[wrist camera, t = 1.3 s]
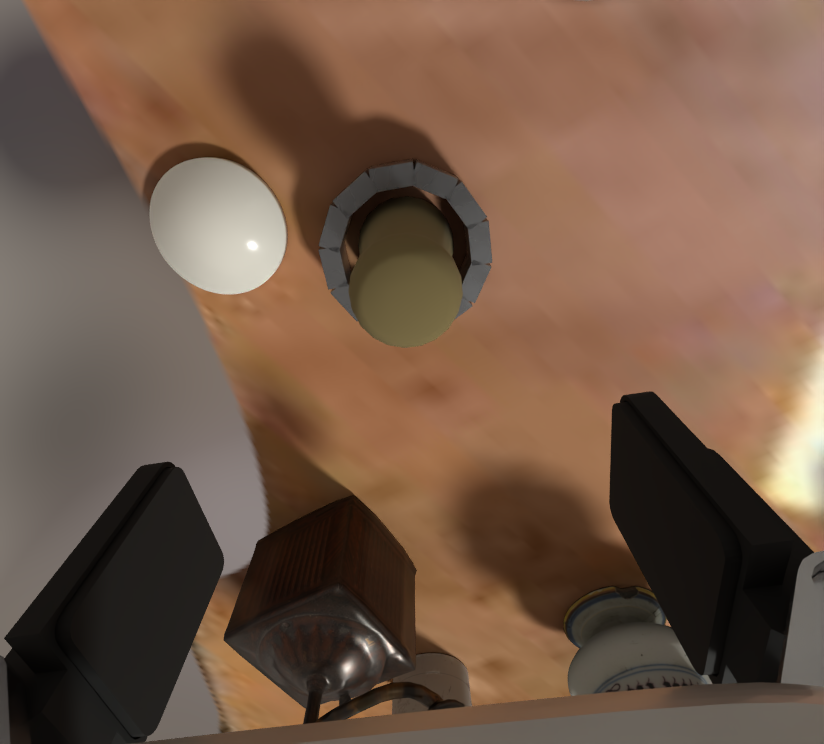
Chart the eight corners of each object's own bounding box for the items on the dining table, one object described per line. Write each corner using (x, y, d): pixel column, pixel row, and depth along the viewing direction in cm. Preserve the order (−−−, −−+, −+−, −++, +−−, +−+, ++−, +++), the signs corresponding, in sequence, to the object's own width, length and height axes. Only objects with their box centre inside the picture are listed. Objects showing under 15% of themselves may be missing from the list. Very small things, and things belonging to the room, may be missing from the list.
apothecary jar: (686, 571, 44) (846, 826, 28) (666, 652, 49) (790, 904, 33) (554, 580, 44) (637, 837, 28) (548, 660, 50) (616, 912, 34)
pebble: (133, 170, 28) (126, 171, 27) (265, 145, 27) (261, 146, 27) (184, 299, 32) (179, 303, 31) (302, 279, 31) (300, 283, 30)
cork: (344, 212, 29) (313, 256, 19) (440, 183, 28) (457, 212, 19) (375, 303, 32) (361, 381, 22) (463, 278, 31) (489, 347, 21)
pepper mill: (328, 610, 46) (286, 868, 30) (254, 538, 42) (159, 796, 26) (471, 549, 42) (510, 806, 26) (407, 464, 38) (407, 709, 22)
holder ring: (309, 177, 28) (301, 181, 26) (476, 147, 28) (482, 149, 25) (347, 330, 33) (342, 345, 31) (491, 307, 32) (497, 321, 30)
